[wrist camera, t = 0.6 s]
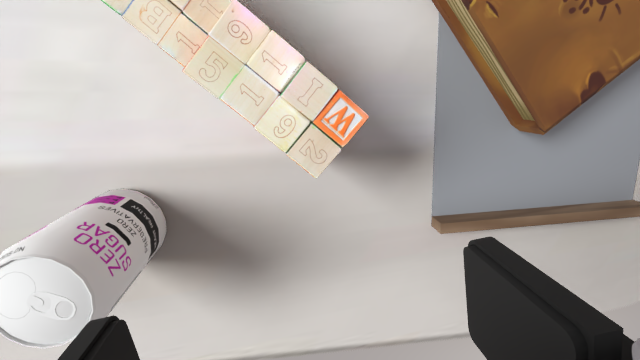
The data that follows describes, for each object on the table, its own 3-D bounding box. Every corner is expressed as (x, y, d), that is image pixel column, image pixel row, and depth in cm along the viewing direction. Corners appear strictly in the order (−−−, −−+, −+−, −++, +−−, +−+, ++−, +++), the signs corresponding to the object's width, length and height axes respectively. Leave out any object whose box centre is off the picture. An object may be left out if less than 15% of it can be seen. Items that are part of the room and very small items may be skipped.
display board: (444, -160, 33) (458, -182, 30) (693, -154, 36) (727, -174, 33) (430, 224, 43) (440, 233, 40) (628, 208, 45) (650, 215, 42)
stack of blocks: (133, 12, 34) (52, -31, 22) (172, -43, 33) (111, -119, 21) (305, 153, 39) (317, 181, 27) (343, 109, 38) (372, 117, 26)
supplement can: (79, 244, 38) (-43, 337, 24) (100, 175, 37) (-15, 230, 22) (154, 267, 40) (83, 368, 25) (178, 202, 38) (117, 270, 24)
